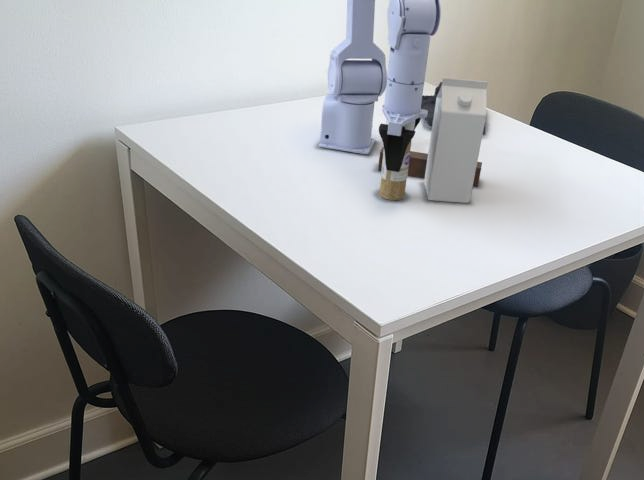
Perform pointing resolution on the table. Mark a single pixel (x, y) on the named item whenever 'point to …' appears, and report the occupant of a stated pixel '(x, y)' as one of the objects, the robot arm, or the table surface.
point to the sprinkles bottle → (395, 174)
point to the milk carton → (455, 140)
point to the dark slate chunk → (432, 106)
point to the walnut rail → (419, 166)
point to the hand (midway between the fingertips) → (395, 164)
